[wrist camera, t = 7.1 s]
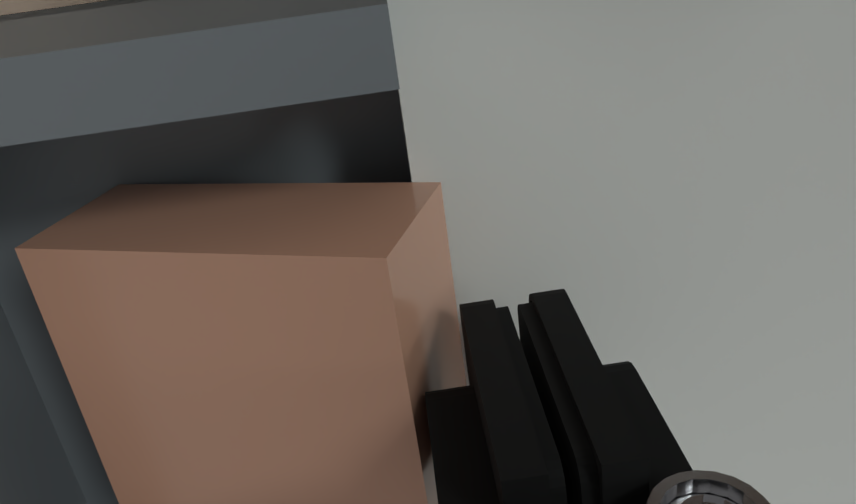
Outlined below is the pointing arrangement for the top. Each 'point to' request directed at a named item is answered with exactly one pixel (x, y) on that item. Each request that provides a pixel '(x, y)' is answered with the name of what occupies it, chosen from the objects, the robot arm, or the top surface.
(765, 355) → the plate
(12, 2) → the top surface
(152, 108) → the bin
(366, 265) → the tile
